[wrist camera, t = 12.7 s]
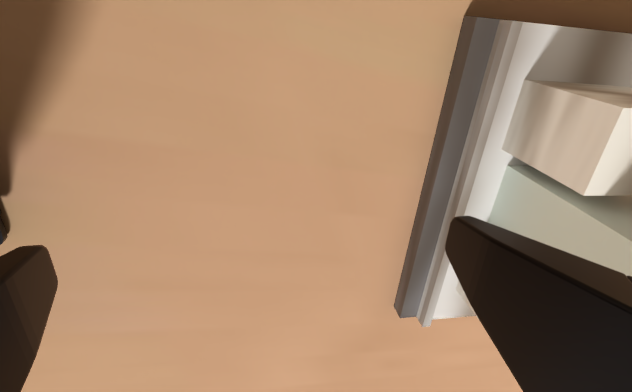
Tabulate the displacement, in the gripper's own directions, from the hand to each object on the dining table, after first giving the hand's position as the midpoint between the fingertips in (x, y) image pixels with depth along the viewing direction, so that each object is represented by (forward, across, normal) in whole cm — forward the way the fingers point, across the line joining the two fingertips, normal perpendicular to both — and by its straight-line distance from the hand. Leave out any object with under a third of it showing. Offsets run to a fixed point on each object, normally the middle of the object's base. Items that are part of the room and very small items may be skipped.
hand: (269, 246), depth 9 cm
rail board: (+13, -18, +6) cm, 23 cm away
